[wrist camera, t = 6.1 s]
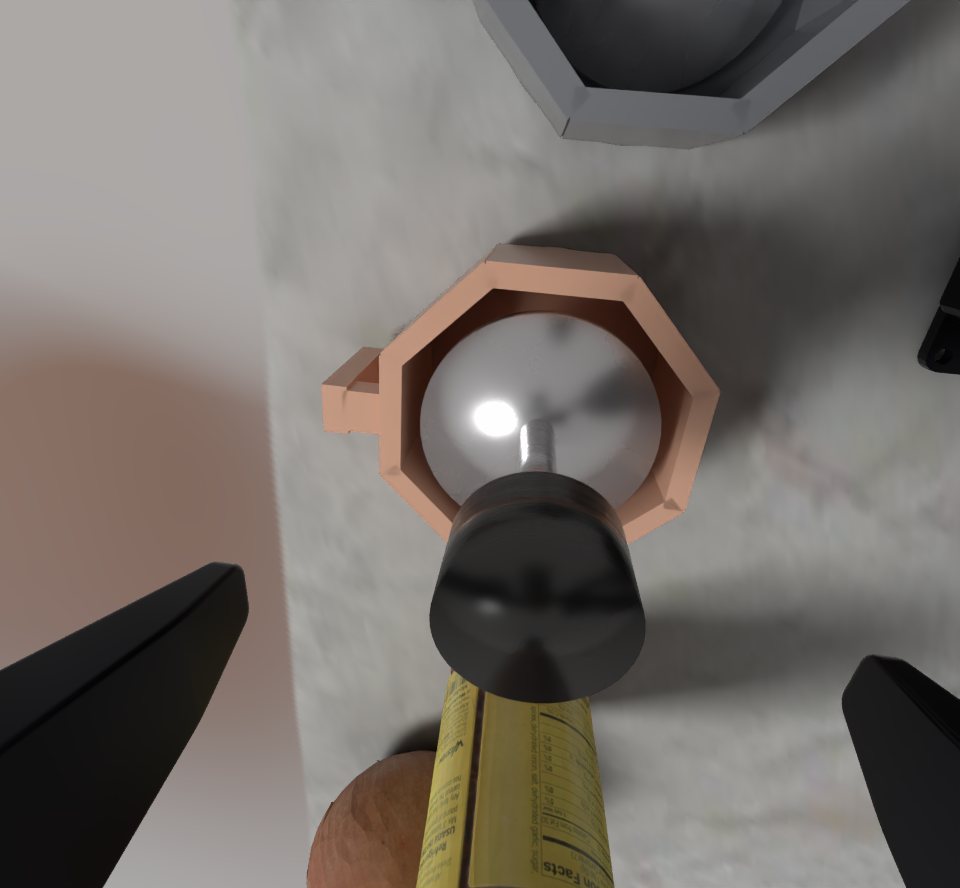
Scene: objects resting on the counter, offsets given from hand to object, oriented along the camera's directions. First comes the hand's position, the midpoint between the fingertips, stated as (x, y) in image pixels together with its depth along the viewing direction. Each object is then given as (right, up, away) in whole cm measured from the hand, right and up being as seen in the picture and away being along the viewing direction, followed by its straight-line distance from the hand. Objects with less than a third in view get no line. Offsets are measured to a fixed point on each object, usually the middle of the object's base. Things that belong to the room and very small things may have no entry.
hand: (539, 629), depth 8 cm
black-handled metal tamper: (+1, +3, +7) cm, 8 cm away
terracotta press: (+1, +5, +11) cm, 12 cm away
